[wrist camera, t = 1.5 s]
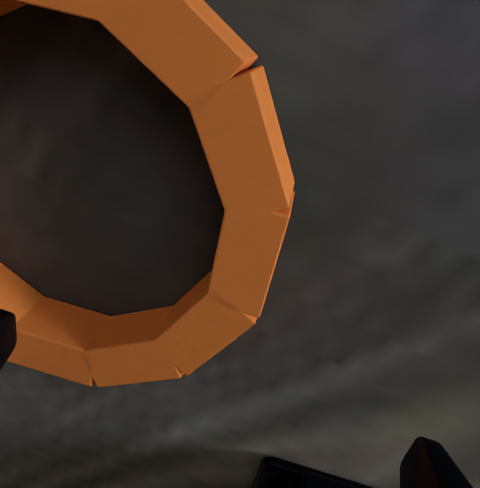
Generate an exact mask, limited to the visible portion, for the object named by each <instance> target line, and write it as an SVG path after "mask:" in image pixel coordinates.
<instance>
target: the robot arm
mask: <svg viewBox="0 0 480 488" xmlns="http://www.w3.org/2000/svg"><path fill="white" fill-rule="evenodd" d="M16 343H17V330H16V316H15V315H14V313H12V312H10V311H6V310H3V309H0V370H1V368H2V367H3V365H4V364H5V362H6V361H7V359H8V358H9V357H10V355H11V354H12V352H13V351H14V349H15V346H16ZM252 488H372V487H369V486H366V485H362V484H359V483H356V482H353V481H349V480H346V479H343V478H340V477H336V476H333V475H330V474H327V473H324V472H320V471H317V470H314V469H311V468H307V467H304V466H301V465H298V464H294V463H291V462H288V461H285V460H282V459H278V458H275V457H265V458H264V459H263V460H262V462H261V465H260V467H259V470H258V472H257V475H256V478H255V480H254V483H253V486H252ZM400 488H473V487H472V486H471V484H470V483H469V482H468V480H467V479H466V478H465V476H464V475H463V474H462V472H461V471H460V469H459V468H458V467H457V465H456V464H455V463H454V461H453V460H452V459H451V457H450V456H449V455H448V453H447V452H446V450H445V449H444V448H443V446H442V445H441V444H440V443H438V442H437V441H434V440H430V439H427V438H424V437H418V438H416V440H415V441H414V442H413V444H412V446H411V447H410V449H409V450H408V452H407V453H406V455H405V456H404V458H403V460H402V462H401V466H400Z"/></svg>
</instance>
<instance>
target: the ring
mask: <svg viewBox="0 0 480 488" xmlns="http://www.w3.org/2000/svg"><path fill="white" fill-rule="evenodd" d="M26 4H31V5H35V6H39V7H43V8H47V9H51V10H55V11H59V12H63V13H67V14H71V15H75V16H79V17H83V18H87V19H91V20H95V21H99V22H100V23H101V24H102V25H103V26H104V27H105V28H106V29H107V30H108V31H109V32H110V33H111V34H112V35H113V36H114V37H116V38H117V39H118V40H119V41H120V42H121V43H122V44H123V45H124V46H125V47H126V48H127V49H128V50H129V51H130V52H131V53H132V54H133V55H134V56H135V57H136V58H137V59H139V60H140V61H141V62H142V63H143V64H144V65H145V66H146V67H147V68H148V69H149V70H150V71H151V72H152V73H153V74H154V75H155V76H156V77H157V78H158V79H159V80H160V81H162V82H163V83H164V84H165V85H166V86H167V87H168V88H169V89H170V90H171V91H172V92H173V93H174V94H175V95H176V96H177V97H178V98H179V99H180V100H181V101H182V102H183V103H185V104H186V105H187V106H188V107H189V109H190V112H191V115H192V118H193V121H194V124H195V127H196V129H197V132H198V135H199V138H200V141H201V144H202V147H203V149H204V152H205V155H206V158H207V161H208V164H209V167H210V170H211V172H212V175H213V178H214V181H215V184H216V187H217V190H218V193H219V195H220V198H221V201H222V204H223V207H224V210H225V211H224V216H223V221H222V226H221V230H220V235H219V240H218V244H217V249H216V254H215V258H214V263H213V268H212V271H210V272H209V273H208V274H207V275H206V276H205V277H204V278H203V279H202V280H201V281H200V282H198V283H197V284H196V285H195V286H194V287H193V288H192V289H191V290H190V291H189V292H188V293H186V294H185V295H184V296H183V297H182V298H181V299H180V300H179V301H178V302H177V303H176V304H174V305H173V306H168V307H162V308H156V309H150V310H144V311H139V312H133V313H127V314H121V315H115V316H109V315H105V314H102V313H99V312H95V311H92V310H88V309H85V308H82V307H78V306H75V305H71V304H68V303H65V302H61V301H58V300H55V299H51V298H48V297H44V296H43V295H42V294H41V293H39V292H38V291H37V290H35V289H34V288H33V287H32V286H30V285H29V284H28V283H26V282H25V281H24V280H23V279H21V278H20V277H19V276H17V275H16V274H15V273H14V272H12V271H11V270H10V269H9V268H7V267H6V266H5V265H3V264H2V263H1V262H0V309H3V310H6V311H10V312H12V313H14V315H15V316H16V330H17V343H16V346H15V349H14V351H13V352H12V354H11V355H10V357H9V358H8V359H7V361H9V362H12V363H15V364H18V365H22V366H25V367H28V368H31V369H35V370H38V371H41V372H44V373H48V374H51V375H54V376H57V377H61V378H64V379H67V380H70V381H74V382H77V383H80V384H83V385H87V386H92V385H93V383H94V382H95V383H96V385H97V386H98V387H106V386H115V385H124V384H133V383H141V382H150V381H159V380H168V379H176V378H181V377H182V375H183V373H184V374H185V375H187V376H188V375H189V374H191V373H192V372H193V371H195V370H196V369H197V368H198V367H200V366H201V365H202V364H204V363H205V362H206V361H208V360H209V359H210V358H211V357H213V356H214V355H215V354H217V353H218V352H219V351H220V350H222V349H223V348H224V347H226V346H227V345H228V344H230V343H231V342H232V341H233V340H235V339H236V338H237V337H239V336H240V335H241V334H242V333H244V332H245V331H246V330H248V329H249V328H250V327H252V326H253V325H254V324H255V323H256V319H257V317H260V316H261V312H262V309H263V306H264V302H265V299H266V296H267V292H268V289H269V285H270V282H271V279H272V275H273V272H274V269H275V265H276V262H277V259H278V255H279V252H280V249H281V245H282V242H283V238H284V235H285V232H286V228H287V225H288V222H289V218H290V213H291V208H292V203H293V198H294V191H293V187H294V178H293V174H292V170H291V167H290V163H289V159H288V156H287V152H286V148H285V145H284V141H283V137H282V133H281V130H280V126H279V122H278V119H277V115H276V111H275V108H274V104H273V100H272V97H271V93H270V89H269V85H268V82H267V78H266V74H265V71H264V67H263V66H258V67H255V68H252V69H249V70H247V69H248V68H249V67H250V66H251V65H252V64H253V62H254V61H255V60H256V59H257V57H258V56H257V55H256V54H255V53H254V52H253V51H252V50H251V49H250V48H249V46H248V45H247V44H246V43H245V42H244V41H243V40H242V39H241V38H240V37H239V36H238V35H237V34H236V33H235V32H234V31H233V30H232V29H231V28H230V27H229V26H228V25H227V24H226V23H225V22H224V21H223V20H222V19H221V18H220V17H219V16H218V15H217V14H216V13H215V12H214V10H213V9H212V8H211V7H210V6H209V5H208V4H207V3H206V2H205V1H204V0H0V16H2V15H5V14H7V13H9V12H11V11H13V10H15V9H18V8H20V7H22V6H24V5H26Z"/></svg>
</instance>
